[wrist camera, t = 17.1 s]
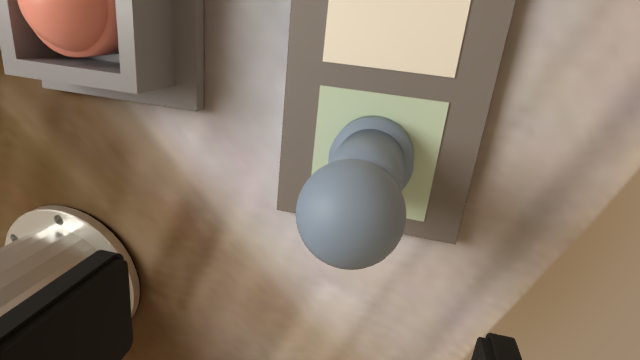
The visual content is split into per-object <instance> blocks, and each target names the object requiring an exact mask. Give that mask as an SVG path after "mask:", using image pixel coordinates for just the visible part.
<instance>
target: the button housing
mask: <svg viewBox="0 0 640 360" xmlns="http://www.w3.org/2000/svg"><path fill="white" fill-rule="evenodd" d="M115 4H116V18H117V32H118V46H119V54H115V55H102V56H89V57H69V56H65V55H62V54H60V53H58V52H56V51H54V50H52V49H51V48H49V47H48V46H47V45H46V44H45V43H43V42H42V40H41V39H40V38H39V37H38V36H37V35H36V33H35V32H34V31H33V29H32V28H31V27H30V25H29V24H28V23H27V21H26V20H25V18H24V17H23V15H22V13H21V10H20V8H19V5H18V1H17V0H0V47H1V53H2V59H3V65H4V71H5V74H8V75H14V76H21V77H28V78H34V79H41V80H42V86H43V88H49V89H55V90H61V91H68V92H74V93H81V94H87V95H94V96H100V97H106V98H113V99H119V100H126V101H132V102H139V103H145V104H151V105H158V106H164V107H171V108H177V109H184V110H190V111H199V110H202V109H204V0H115Z"/></svg>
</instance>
